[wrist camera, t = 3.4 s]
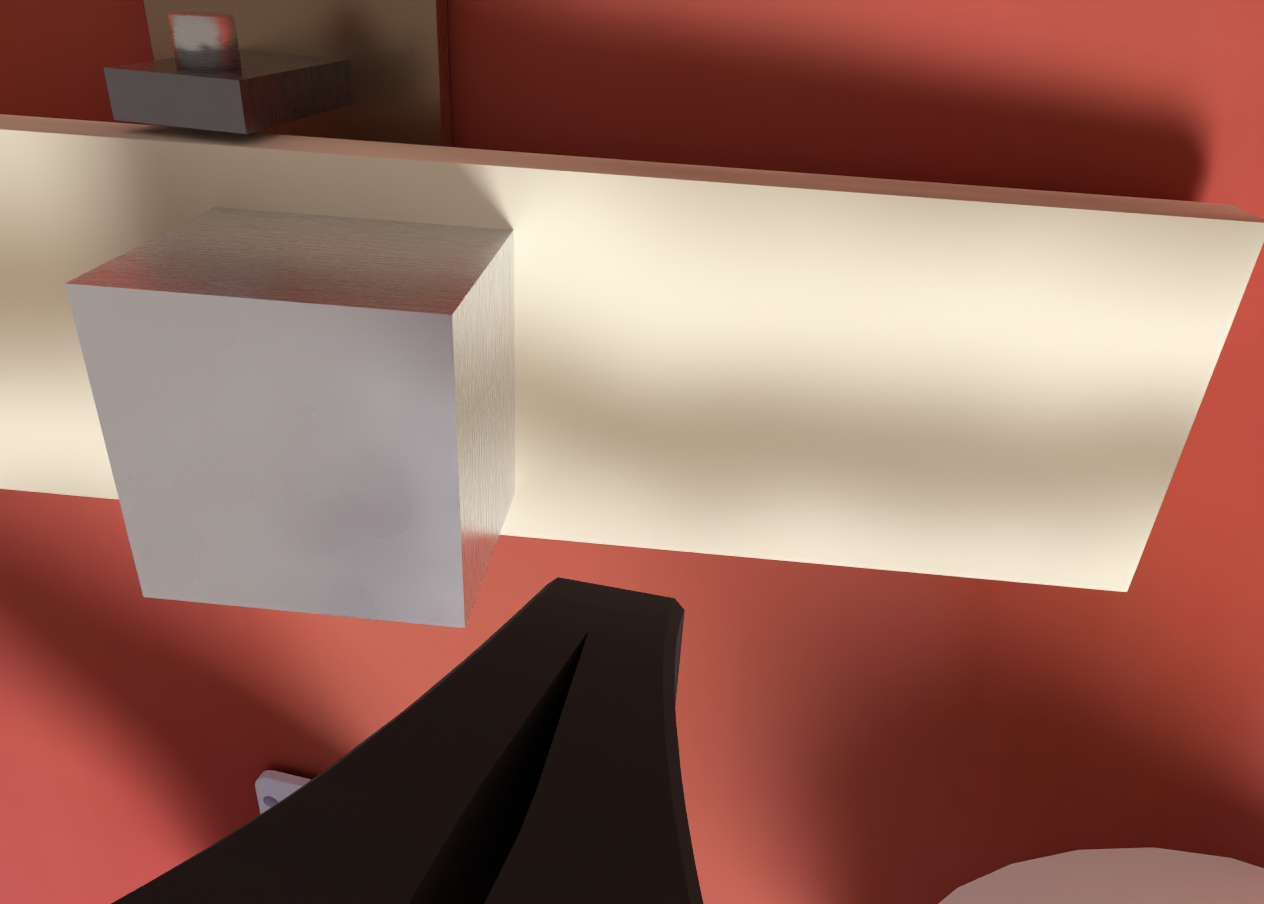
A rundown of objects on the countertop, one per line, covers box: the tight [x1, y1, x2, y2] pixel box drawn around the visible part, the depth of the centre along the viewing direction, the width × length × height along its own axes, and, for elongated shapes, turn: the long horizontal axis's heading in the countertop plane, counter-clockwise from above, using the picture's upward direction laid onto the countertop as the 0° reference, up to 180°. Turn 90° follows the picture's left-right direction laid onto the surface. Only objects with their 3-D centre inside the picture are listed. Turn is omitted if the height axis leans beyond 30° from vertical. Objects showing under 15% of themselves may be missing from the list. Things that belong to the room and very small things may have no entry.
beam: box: [0, 114, 1264, 592], centre depth 16 cm, size 7×32×3 cm, turn 87°
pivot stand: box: [103, 0, 452, 147], centre depth 18 cm, size 12×6×4 cm, turn 177°
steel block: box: [65, 207, 515, 628], centre depth 15 cm, size 5×5×4 cm
